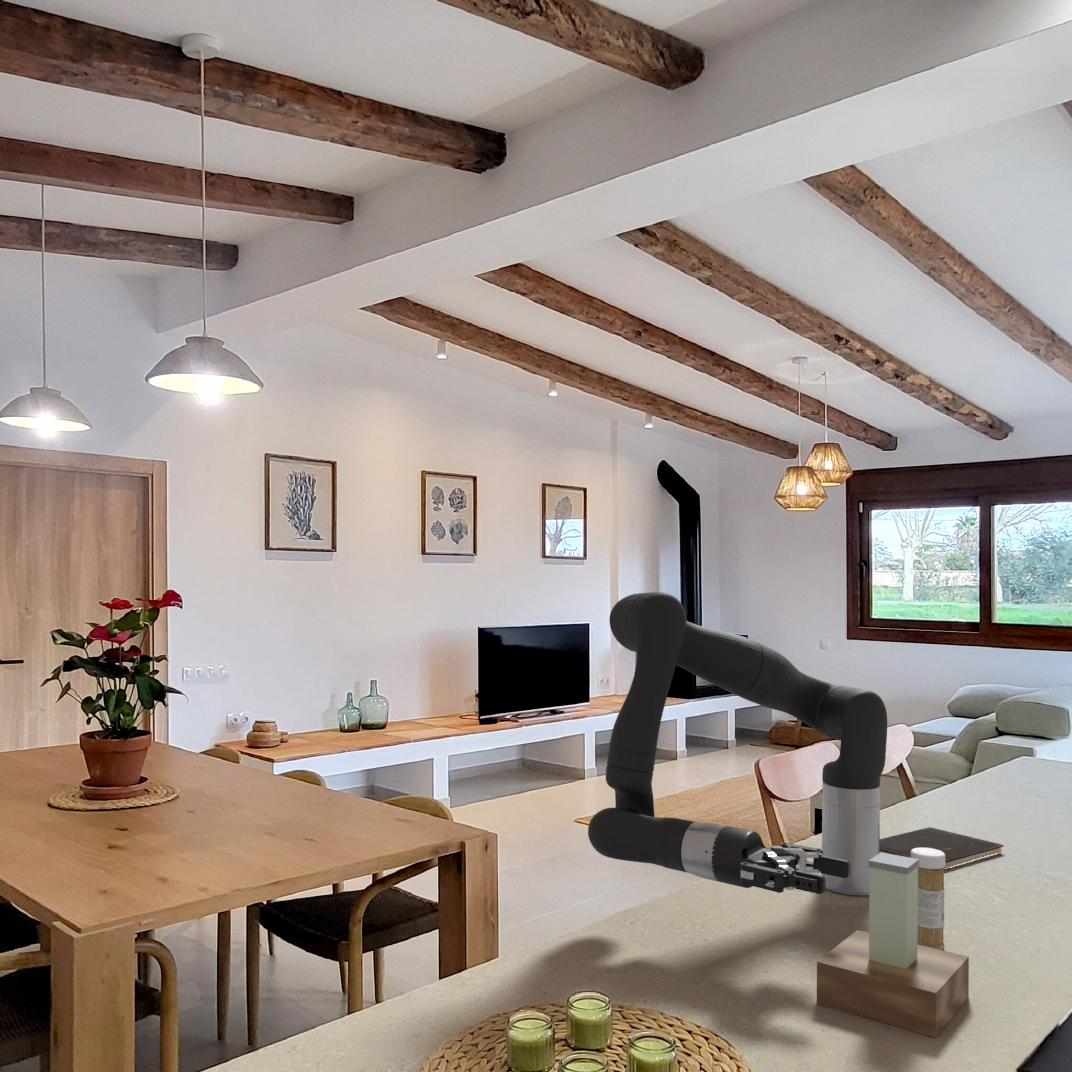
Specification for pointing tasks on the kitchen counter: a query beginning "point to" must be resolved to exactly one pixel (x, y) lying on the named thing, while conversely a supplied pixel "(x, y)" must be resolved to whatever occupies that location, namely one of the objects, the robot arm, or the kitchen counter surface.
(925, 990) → the walnut block
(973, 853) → the hardcover book
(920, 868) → the sprinkles bottle
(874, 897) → the green tin canister
